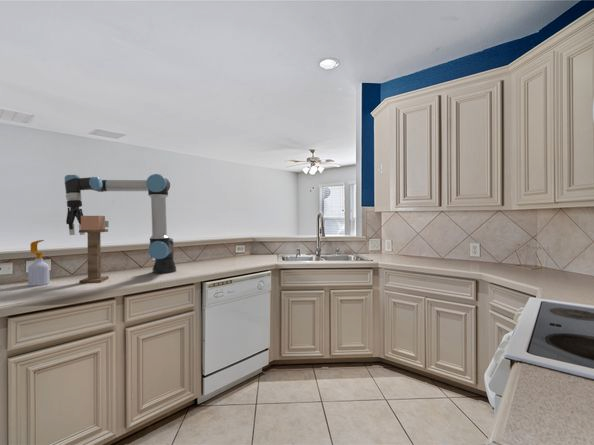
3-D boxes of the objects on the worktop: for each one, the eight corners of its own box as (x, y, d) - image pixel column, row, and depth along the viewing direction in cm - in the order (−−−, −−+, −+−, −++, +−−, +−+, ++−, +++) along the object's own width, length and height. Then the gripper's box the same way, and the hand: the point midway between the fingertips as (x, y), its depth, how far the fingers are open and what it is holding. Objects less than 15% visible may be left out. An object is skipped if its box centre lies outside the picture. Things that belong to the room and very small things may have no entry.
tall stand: (88, 279, 191) (87, 229, 190) (108, 278, 193) (108, 229, 193) (79, 283, 179) (78, 230, 179) (101, 282, 181) (100, 229, 181)
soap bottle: (40, 286, 172) (39, 240, 171) (23, 286, 172) (23, 240, 172) (53, 282, 181) (53, 239, 180) (37, 282, 181) (37, 239, 181)
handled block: (97, 228, 202) (97, 216, 202) (112, 228, 204) (112, 216, 204) (80, 229, 179) (80, 215, 179) (98, 229, 181) (98, 215, 181)
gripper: (76, 202, 207) (79, 235, 207) (56, 198, 182) (60, 235, 182) (89, 201, 208) (92, 234, 208) (71, 197, 184) (75, 234, 184)
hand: (77, 234), depth 195 cm, fingers open, 13 cm apart
